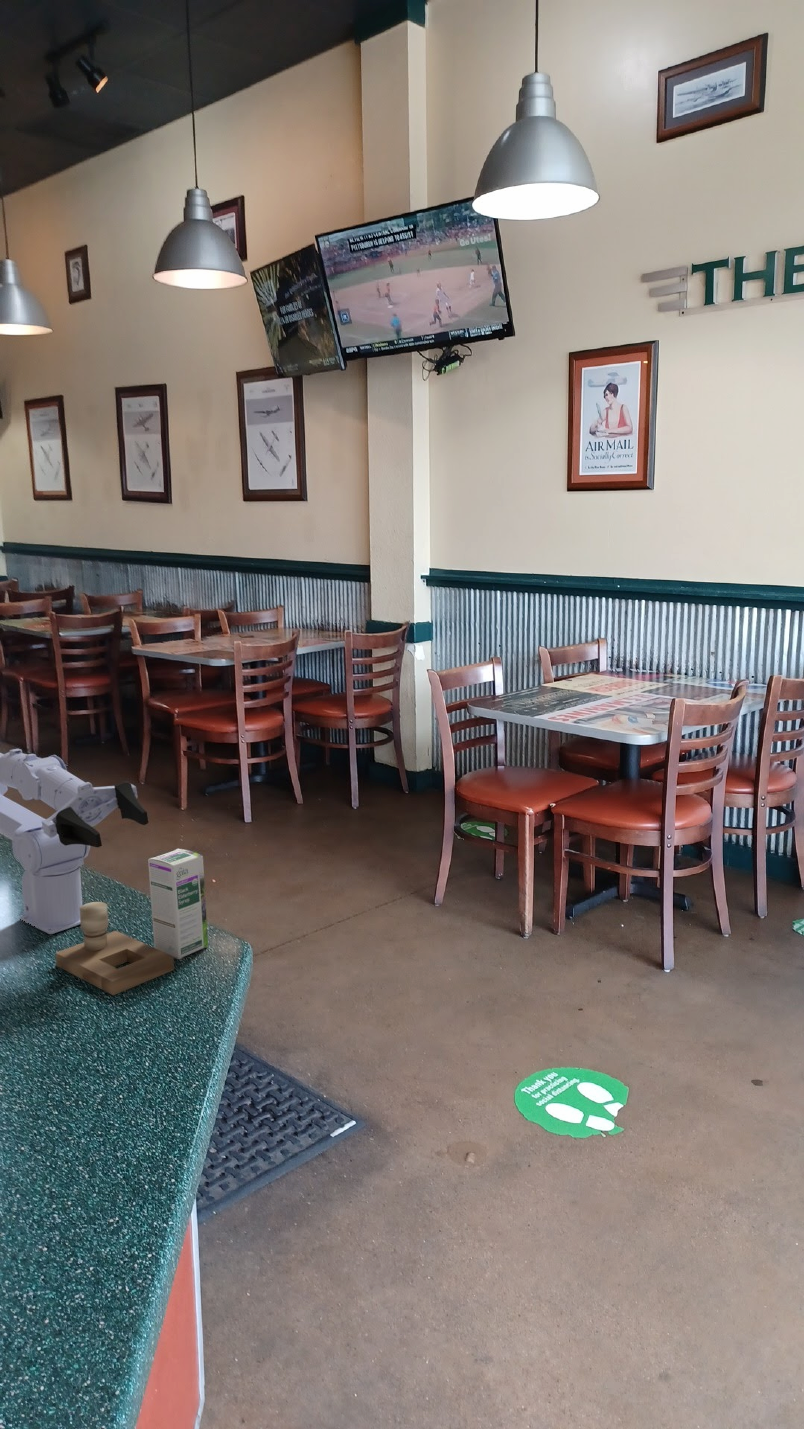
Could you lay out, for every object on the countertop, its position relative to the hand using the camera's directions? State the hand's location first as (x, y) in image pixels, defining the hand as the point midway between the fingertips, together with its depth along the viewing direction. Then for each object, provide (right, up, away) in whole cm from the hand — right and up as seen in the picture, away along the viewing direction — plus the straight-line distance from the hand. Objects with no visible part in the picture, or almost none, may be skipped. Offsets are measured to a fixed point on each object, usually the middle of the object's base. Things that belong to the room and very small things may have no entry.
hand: (122, 829), depth 142 cm
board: (-1, -20, +1) cm, 20 cm away
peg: (-5, -17, +3) cm, 18 cm away
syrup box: (+7, -19, +7) cm, 21 cm away
